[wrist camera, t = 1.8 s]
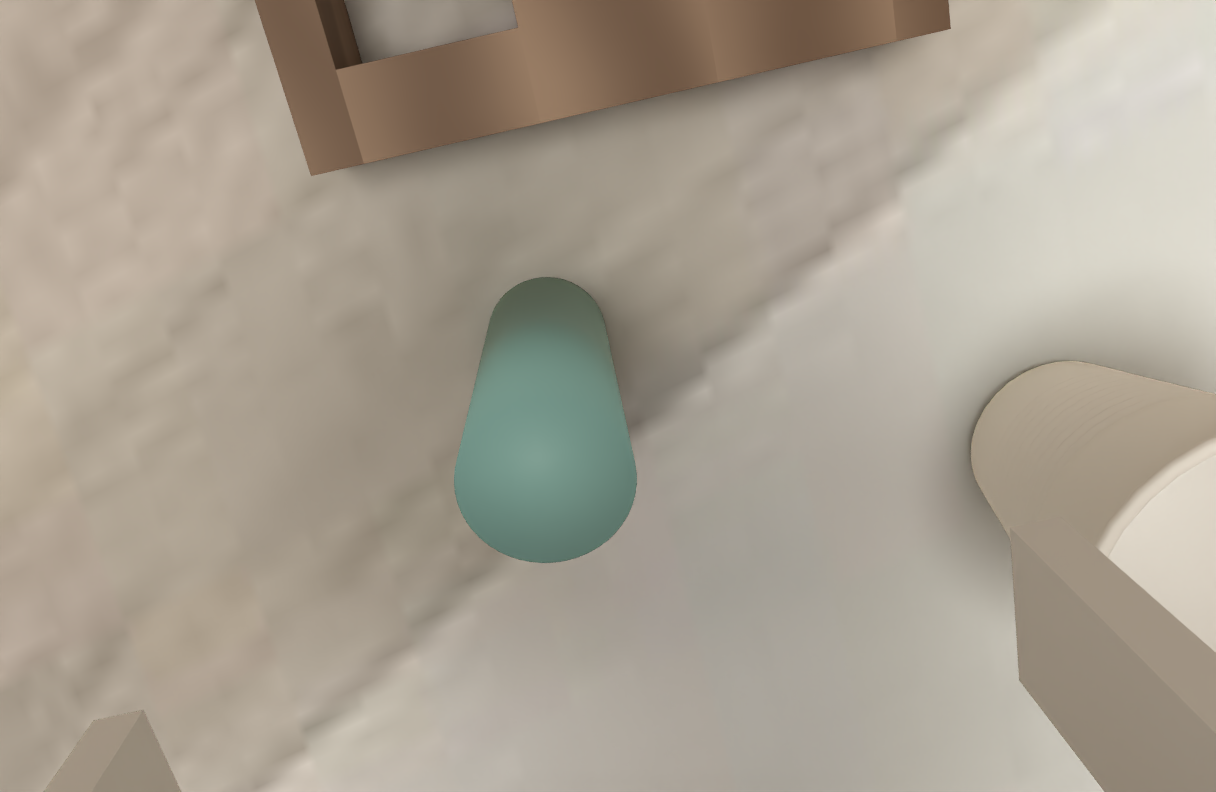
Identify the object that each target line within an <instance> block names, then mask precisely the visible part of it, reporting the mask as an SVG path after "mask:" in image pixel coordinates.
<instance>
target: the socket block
mask: <svg viewBox="0 0 1216 792" xmlns="http://www.w3.org/2000/svg"><path fill="white" fill-rule="evenodd" d="M255 2H256V5H257V9H258V12H259V15H260V18H261V21H262V24H263V27H264V30H265V34H266V37H267V40H268V43H269V46H270V49H271V52H272V55H273V58H274V62H275V65H276V68H277V71H278V74H279V77H280V80H281V83H282V87H283V90H284V93H285V96H286V99H287V102H288V105H289V108H290V111H291V115H292V118H293V121H294V124H295V127H296V130H297V133H298V136H299V139H300V143H301V146H302V149H303V152H304V155H305V158H306V161H307V164H308V168H309V171H310V174H311V176H313V175H318V174H322V173H326V172H331V171H335V170H339V169H344V168H348V167H352V166H357V165H361V164H365V163H370V162H374V161H378V160H383V159H387V158H391V157H396V156H400V155H404V154H409V153H413V152H418V151H422V150H426V149H431V148H435V147H439V146H444V145H448V144H452V143H457V142H461V141H465V140H470V139H474V138H478V137H483V136H487V135H491V134H496V133H500V132H504V131H509V130H513V129H517V128H522V127H526V126H531V125H535V124H539V123H544V122H548V121H552V120H557V119H561V118H565V117H570V116H574V115H578V114H583V113H587V112H591V111H596V110H600V109H604V108H609V107H613V106H617V105H622V104H626V103H630V102H635V101H639V100H644V99H648V98H652V97H657V96H661V95H665V94H670V93H674V92H678V91H683V90H687V89H691V88H696V87H700V86H704V85H709V84H713V83H717V82H722V81H726V80H730V79H735V78H739V77H743V76H748V75H752V74H757V73H761V72H765V71H770V70H774V69H778V68H783V67H787V66H791V65H796V64H800V63H804V62H809V61H813V60H817V59H822V58H826V57H830V56H835V55H839V54H843V53H848V52H852V51H856V50H861V49H865V48H870V47H874V46H878V45H883V44H887V43H891V42H896V41H900V40H904V39H909V38H913V37H917V36H922V35H926V34H930V33H935V32H939V31H943V30H948V29H951V27H950V15H949V3H948V0H512V3H513V7H514V11H515V16H516V20H517V24H518V28H514V29H510V30H506V31H502V32H497V33H493V34H489V35H484V36H480V37H476V38H471V39H467V40H463V41H458V42H454V43H450V44H445V45H441V46H437V47H432V48H428V49H424V50H420V51H415V52H411V53H407V54H402V55H398V56H394V57H389V58H385V59H381V60H376V61H372V62H368V63H363V64H362V61H361V58H360V54H359V51H358V47H357V44H356V41H355V37H354V34H353V30H352V27H351V23H350V20H349V16H348V13H347V10H346V6H345V3H344V0H255Z"/></svg>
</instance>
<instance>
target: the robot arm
mask: <svg viewBox="0 0 1216 792" xmlns="http://www.w3.org/2000/svg"><path fill="white" fill-rule="evenodd" d="M1010 539H1011V555H1012V571H1013V588H1014V604H1015V620H1016V636H1017V652H1018V668H1019V680H1020V682H1021V683H1022V684H1023V686H1024V687H1025V688H1026V690H1027V691H1028V692H1029V694H1030V695H1031V696H1032V697H1033V699H1034V700H1035V701H1036V703H1037V704H1038V705H1039V707H1040V708H1041V709H1042V711H1043V712H1044V713H1045V714H1046V716H1047V717H1048V718H1049V720H1050V721H1051V722H1052V724H1053V725H1054V726H1055V728H1056V729H1057V730H1058V731H1059V733H1060V734H1061V735H1062V737H1063V738H1064V739H1065V741H1066V742H1067V743H1068V745H1069V746H1070V747H1071V748H1072V750H1073V751H1074V752H1075V754H1076V755H1077V756H1078V758H1079V759H1080V760H1081V761H1082V763H1083V764H1084V765H1085V767H1086V768H1087V769H1088V771H1089V772H1090V773H1091V775H1092V776H1093V777H1094V778H1095V780H1096V781H1097V782H1098V784H1099V785H1100V786H1101V788H1102V789H1103V790H1104V792H1216V652H1214V651H1213V650H1212V649H1211V648H1210V647H1209V646H1208V645H1207V644H1205V643H1204V642H1203V641H1202V640H1201V639H1200V638H1199V637H1197V636H1196V635H1195V634H1194V633H1193V632H1192V631H1191V630H1189V629H1188V628H1187V627H1186V626H1185V625H1184V624H1183V623H1181V622H1180V621H1179V620H1178V619H1177V618H1176V617H1175V616H1174V615H1172V614H1171V613H1170V612H1169V611H1168V610H1167V609H1166V608H1164V607H1163V606H1162V605H1161V604H1160V603H1159V602H1158V601H1156V600H1155V599H1154V598H1153V597H1152V596H1151V595H1150V594H1149V593H1147V592H1146V591H1145V590H1144V589H1143V588H1142V587H1141V586H1139V585H1138V584H1137V583H1136V582H1135V581H1134V580H1133V579H1131V578H1130V577H1129V576H1128V575H1127V574H1126V573H1125V572H1123V571H1122V570H1121V569H1120V568H1119V567H1118V566H1117V565H1116V564H1114V563H1113V562H1112V561H1111V560H1110V559H1109V558H1108V557H1106V556H1105V555H1104V554H1103V553H1102V552H1101V551H1100V550H1098V549H1097V548H1096V547H1095V546H1094V545H1093V544H1092V543H1090V542H1089V541H1088V540H1087V539H1086V538H1085V537H1084V536H1083V535H1081V534H1080V533H1079V532H1078V531H1077V530H1076V529H1075V528H1073V527H1072V526H1071V525H1070V524H1069V523H1068V522H1067V521H1065V520H1064V519H1063V518H1062V517H1057V518H1052V519H1047V520H1043V521H1038V522H1033V523H1028V524H1024V525H1019V526H1014V527H1010ZM44 792H181V790H180V788H179V786H178V783H177V781H176V779H175V777H174V775H173V773H172V771H171V768H170V766H169V764H168V762H167V760H166V758H165V755H164V753H163V751H162V749H161V747H160V745H159V742H158V740H157V738H156V736H155V734H154V732H153V729H152V727H151V725H150V723H149V721H148V719H147V717H146V714H145V712H144V710H141V711H136V712H131V713H127V714H122V715H117V716H112V717H108V718H103V719H98V720H94V721H93V722H92V724H91V725H90V726H89V728H88V729H87V731H86V732H85V733H84V735H83V736H82V738H81V739H80V741H79V742H78V743H77V745H76V746H75V748H74V749H73V751H72V752H71V753H70V755H69V756H68V758H67V759H66V761H65V762H64V763H63V765H62V766H61V768H60V769H59V771H58V772H57V773H56V775H55V776H54V778H53V779H52V781H51V782H50V783H49V785H48V786H47V788H46V789H45V791H44Z"/></svg>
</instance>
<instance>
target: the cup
mask: <svg viewBox="0 0 1216 792" xmlns="http://www.w3.org/2000/svg"><path fill="white" fill-rule="evenodd" d="M971 463H972V470H973V473H974V476H975V479H976V481H977V484H978V485H979V487H980V489H981V490H982V492H983V494H984V496H985V497H986V499H987V501H988V502H989V504H990V506H991V508H992V509H993V511H994V512H995V514H996V516H997V518H998V519H999V521H1000V522H1001V524H1002V526H1003V528H1004V529H1005V531H1006V533H1007V534H1008V536H1009V538H1010V527H1014V526H1019V525H1024V524H1028V523H1033V522H1038V521H1043V520H1047V519H1052V518H1057V517H1062V518H1063V519H1064V520H1065V521H1067V522H1068V523H1069V524H1070V525H1071V526H1072V527H1073V528H1075V529H1076V530H1077V531H1078V532H1079V533H1080V534H1081V535H1083V536H1084V537H1085V538H1086V539H1087V540H1088V541H1089V542H1090V543H1092V544H1093V545H1094V546H1095V547H1096V548H1097V549H1098V550H1100V551H1101V552H1102V553H1103V554H1104V555H1105V556H1106V557H1108V558H1109V559H1110V560H1111V561H1112V562H1113V563H1114V564H1116V565H1117V566H1118V567H1119V568H1120V569H1121V570H1122V571H1123V572H1125V573H1126V574H1127V575H1128V576H1129V577H1130V578H1131V579H1133V580H1134V581H1135V582H1136V583H1137V584H1138V585H1139V586H1141V587H1142V588H1143V589H1144V590H1145V591H1146V592H1147V593H1149V594H1150V595H1151V596H1152V597H1153V598H1154V599H1155V600H1156V601H1158V602H1159V603H1160V604H1161V605H1162V606H1163V607H1164V608H1166V609H1167V610H1168V611H1169V612H1170V613H1171V614H1172V615H1174V616H1175V617H1176V618H1177V619H1178V620H1179V621H1180V622H1181V623H1183V624H1184V625H1185V626H1186V627H1187V628H1188V629H1189V630H1191V631H1192V632H1193V633H1194V634H1195V635H1196V636H1197V637H1199V638H1200V639H1201V640H1202V641H1203V642H1204V643H1205V644H1207V645H1208V646H1209V647H1210V648H1211V649H1212V650H1213V651H1214V652H1216V394H1213V393H1209V392H1204V391H1201V390H1197V389H1192V388H1189V387H1184V386H1180V385H1177V384H1171V383H1168V382H1165V381H1159V380H1156V379H1151V378H1147V377H1144V376H1138V375H1135V374H1130V373H1127V372H1124V371H1120V370H1116V369H1112V368H1108V367H1103V366H1099V365H1095V364H1091V363H1085V362H1078V361H1060V362H1053V363H1049V364H1045V365H1041V366H1038V367H1036V368H1033V369H1031V370H1029V371H1026V372H1024V373H1022V374H1021V375H1019V376H1018V377H1016V378H1015V379H1013V380H1012V381H1010V382H1009V383H1007V384H1006V385H1005V386H1004V387H1003V388H1002V389H1001V390H1000V391H999V392H998V393H996V394H995V396H994V397H993V398H992V400H991V401H990V402H989V403H988V405H987V406H986V407H985V409H984V411H983V413H982V414H981V416H980V418H979V420H978V422H977V425H976V428H975V431H974V434H973V437H972V445H971Z"/></svg>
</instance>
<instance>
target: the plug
mask: <svg viewBox="0 0 1216 792" xmlns="http://www.w3.org/2000/svg"><path fill="white" fill-rule="evenodd" d="M636 485H637V473H636V466H635V460H634V456H633V451H632V447H631V442H630V438H629V433H628V428H627V424H626V419H625V415H624V410H623V406H622V401H621V396H620V392H619V387H618V383H617V378H616V373H615V369H614V364H613V360H612V355H611V351H610V346H609V341H608V337H607V332H606V328H605V323H604V319H603V316H602V314H601V311H600V309H599V307H598V306H597V304H596V302H595V301H594V300H593V299H592V297H591V296H590V295H589V294H588V293H587V292H585V291H584V290H583V289H582V288H580V287H579V286H577V285H575V284H573V283H571V282H568V281H566V280H562V279H558V278H550V277H545V278H535V279H531V280H528V281H525V282H523V283H520V284H518V285H517V286H515V287H513V288H512V289H511V290H509V291H508V292H507V293H506V294H505V295H504V296H503V297H502V298H501V299H500V301H499V302H498V303H497V305H496V307H495V309H494V311H493V313H492V316H491V318H490V323H489V327H488V331H487V335H486V339H485V344H484V348H483V352H482V356H481V360H480V365H479V369H478V373H477V377H476V381H475V386H474V390H473V394H472V398H471V402H470V407H469V411H468V415H467V419H466V423H465V428H464V432H463V436H462V440H461V444H460V449H459V453H458V457H457V461H456V466H455V474H454V487H455V494H456V499H457V503H458V505H459V508H460V511H461V513H462V515H463V517H464V518H465V520H466V522H467V523H468V525H469V526H470V527H471V529H472V530H473V531H474V532H475V533H476V534H477V535H478V536H479V538H480V539H482V540H483V541H484V542H485V543H487V544H488V545H489V546H491V547H492V548H494V549H496V550H497V551H499V552H501V553H503V554H505V555H508V556H510V557H513V558H516V559H519V560H524V561H529V562H538V563H553V562H561V561H567V560H570V559H574V558H577V557H580V556H582V555H585V554H587V553H589V552H591V551H593V550H595V549H596V548H598V547H599V546H601V545H602V544H603V543H605V542H606V541H607V540H609V539H610V538H611V537H612V536H613V535H614V534H615V533H616V532H617V530H618V529H619V528H620V527H621V525H622V524H623V522H624V521H625V519H626V517H627V516H628V514H629V512H630V509H631V507H632V504H633V501H634V497H635V493H636Z"/></svg>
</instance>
